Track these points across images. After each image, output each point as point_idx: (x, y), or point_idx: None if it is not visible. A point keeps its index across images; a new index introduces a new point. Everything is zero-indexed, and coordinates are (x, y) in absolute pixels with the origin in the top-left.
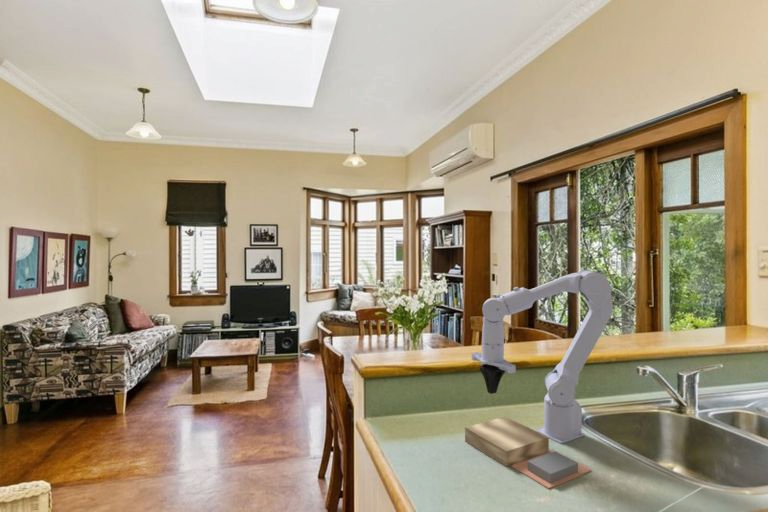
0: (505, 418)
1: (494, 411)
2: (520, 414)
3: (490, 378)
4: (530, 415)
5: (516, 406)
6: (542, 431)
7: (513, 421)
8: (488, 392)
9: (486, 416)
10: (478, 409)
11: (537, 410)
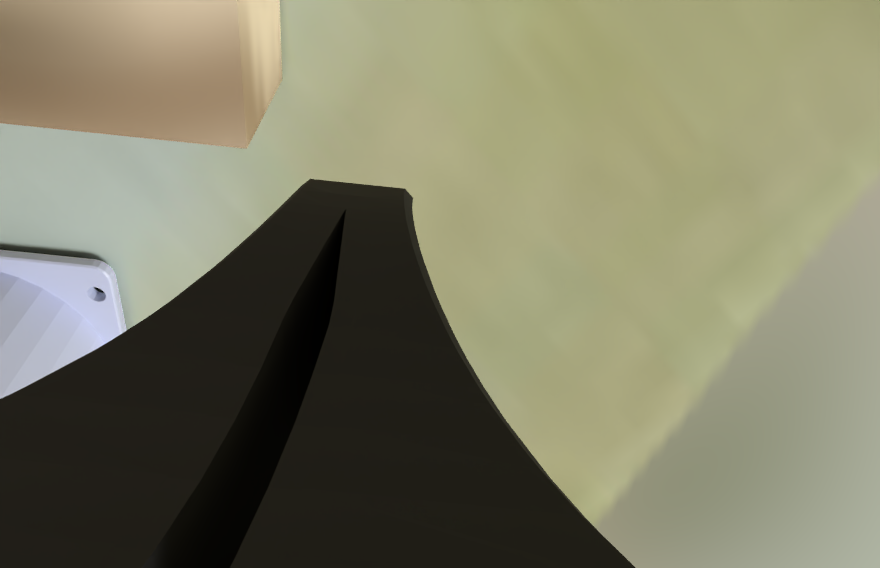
0: (192, 98)
1: (652, 326)
2: None
3: (104, 371)
4: None
5: (579, 508)
6: (63, 289)
7: (73, 104)
8: (383, 187)
9: (638, 183)
10: (809, 251)
11: None
